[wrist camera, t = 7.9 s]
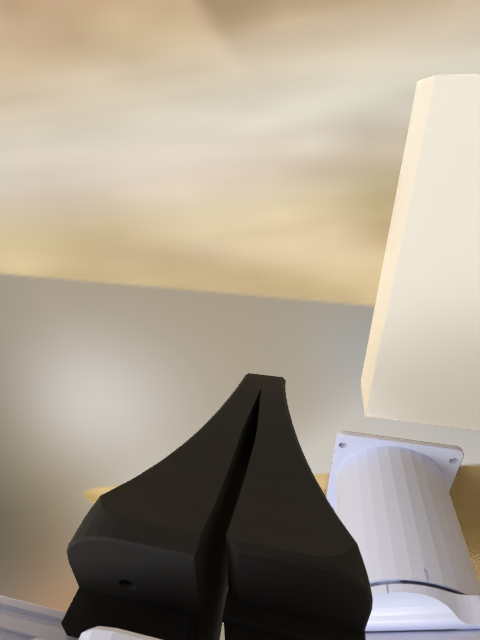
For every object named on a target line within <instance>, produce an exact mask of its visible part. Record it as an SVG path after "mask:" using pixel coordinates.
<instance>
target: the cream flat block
mask: <svg viewBox="0 0 480 640" xmlns="http://www.w3.org/2000/svg"><path fill="white" fill-rule="evenodd" d="M361 389H362V397H363V404H364V411H365V416H367V417H375V418H383V419H391V420H398V421H406V422H415V423H422V424H430V425H438V426H446V427H454V428H462V429H469V430H478V431H480V74H448V75H434V76H431V77H428V78H425V79H423V80H420V81H417V86H416V92H415V97H414V102H413V108H412V113H411V118H410V124H409V129H408V134H407V139H406V145H405V150H404V155H403V161H402V166H401V171H400V177H399V182H398V187H397V192H396V198H395V203H394V208H393V214H392V219H391V224H390V230H389V235H388V240H387V245H386V251H385V256H384V261H383V267H382V272H381V277H380V283H379V288H378V293H377V298H376V304H375V309H374V314H373V320H372V326H371V331H370V336H369V341H368V346H367V352H366V357H365V362H364V367H363V373H362V379H361Z"/></svg>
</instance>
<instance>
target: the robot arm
mask: <svg viewBox="0 0 480 640" xmlns="http://www.w3.org/2000/svg"><path fill="white" fill-rule="evenodd" d="M341 443H344V444H341ZM463 456H464V453H463V451H462V449H461V448H460V447H457V446H452V445H444V444H437V443H430V442H422V441H415V440H407V439H400V438H392V437H385V436H377V435H370V434H363V433H355V432H348V431H340V432H338V433H337V434H336V439H335V445H334V451H333V457H332V463H331V469H330V476H329V482H328V488H327V494H326V496H325V495H324V493H323V491H322V489H321V488H320V486H319V484H318V482H317V481H316V479H315V477H314V475H313V473H312V471H311V469H310V467H309V465H308V463H307V461H306V459H305V456H304V454H303V452H302V449H301V447H300V444H299V442H298V439H297V436H296V433H295V430H294V427H293V424H292V420H291V417H290V413H289V409H288V405H287V399H286V392H285V379H284V378H283V377H275V376H267V375H258V374H250V373H248V374H247V375H245V377H244V378H243V380H242V381H241V383H240V384H239V386H238V387H237V388H236V390H235V391H234V392H233V394H232V395H231V396H230V397H229V399H228V400H227V401H226V402H225V403H224V405H223V406H222V407H221V408H220V409H219V411H217V413H216V414H215V415H214V416H213V417H212V418H211V419H210V420H209V421H208V422H207V423H206V424H205V425H204V426H203V427H202V428H201V429H200V430H199V431H198V432H197V433H196V434H194V435H193V436H192V437H191V438H190V439H189V440H188V441H187V442H185V443H184V444H183V445H182V446H180V447H179V448H178V449H176V450H175V451H174V452H173V453H171V454H170V455H169V456H167V457H166V458H164V459H163V460H162V461H160V462H159V463H157V464H156V465H154V466H153V467H151V468H149V469H148V470H146V471H145V472H143V473H142V474H140V475H138V476H137V477H135V478H133V479H132V480H130V481H128V482H126V483H124V484H122V485H120V486H118V487H117V488H115V489H113V490H111V491H109V492H107V493H105V494H103V495H101V496H100V497H99V498H98V500H97V501H96V503H95V504H94V506H93V507H92V508H91V509H90V511H89V512H88V514H87V515H86V516H85V518H84V520H83V521H82V523H81V525H80V526H79V528H78V530H77V532H76V533H75V535H74V537H73V538H72V540H71V542H70V543H69V545H68V549H67V555H68V560H69V563H70V566H71V568H72V571H73V573H74V575H75V578H76V580H77V583H78V585H79V589H78V591H77V593H76V595H75V597H74V599H73V601H72V603H71V605H70V607H69V608H68V610H67V612H65V611H61V610H57V609H53V608H49V607H45V606H41V605H37V604H33V603H29V602H25V601H21V600H17V599H13V598H9V597H5V596H1V595H0V640H219V639H220V633H221V627H222V622H224V629H225V630H224V631H225V640H480V584H479V581H478V578H477V575H476V572H475V569H474V566H473V563H472V560H471V557H470V554H469V551H468V548H467V545H466V542H465V539H464V536H463V533H462V530H461V527H460V524H459V521H458V518H457V514H456V511H455V508H454V505H453V502H452V499H451V496H450V493H449V491H450V489H451V486H452V484H453V481H454V479H455V477H456V474H457V472H458V469H459V467H460V464H461V462H462V459H463ZM452 458H454V459H452ZM227 590H228V591H227Z"/></svg>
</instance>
